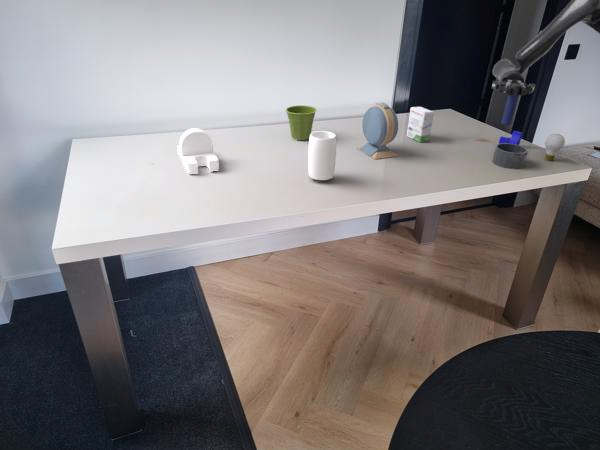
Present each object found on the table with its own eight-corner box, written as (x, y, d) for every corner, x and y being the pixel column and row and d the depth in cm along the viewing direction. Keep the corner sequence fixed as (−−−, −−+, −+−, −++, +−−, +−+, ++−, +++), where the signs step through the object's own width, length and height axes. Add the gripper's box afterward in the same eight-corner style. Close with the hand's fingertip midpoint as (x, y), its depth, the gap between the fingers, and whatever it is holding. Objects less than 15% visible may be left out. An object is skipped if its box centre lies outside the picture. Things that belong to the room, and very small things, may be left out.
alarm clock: (399, 157, 152) (406, 107, 143) (376, 160, 149) (382, 109, 140) (377, 144, 163) (382, 97, 155) (355, 147, 160) (359, 99, 151)
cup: (316, 171, 140) (318, 128, 132) (339, 177, 136) (342, 133, 129) (302, 179, 133) (303, 135, 126) (325, 186, 130) (328, 141, 122)
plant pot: (290, 132, 174) (290, 104, 168) (318, 135, 171) (320, 106, 166) (281, 141, 164) (281, 112, 159) (311, 144, 162) (312, 115, 156)
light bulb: (548, 157, 155) (556, 130, 150) (561, 163, 150) (571, 135, 145) (535, 159, 153) (544, 132, 148) (548, 165, 148) (558, 137, 143)
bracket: (177, 155, 149) (173, 123, 144) (206, 151, 153) (203, 120, 147) (188, 175, 134) (184, 140, 129) (220, 171, 138) (217, 137, 132)
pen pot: (522, 162, 150) (527, 145, 147) (523, 172, 142) (528, 155, 139) (492, 157, 154) (496, 141, 151) (491, 167, 146) (495, 150, 143)
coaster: (493, 140, 170) (494, 139, 169) (493, 147, 163) (493, 146, 163) (472, 138, 172) (472, 137, 172) (471, 144, 166) (471, 143, 166)
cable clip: (506, 144, 166) (510, 129, 163) (518, 147, 163) (522, 132, 160) (492, 151, 159) (496, 136, 156) (503, 155, 156) (508, 139, 153)
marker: (512, 123, 147) (522, 84, 140) (510, 125, 144) (521, 86, 138) (501, 121, 148) (511, 82, 142) (500, 124, 146) (510, 84, 139)
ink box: (429, 141, 168) (435, 111, 162) (419, 142, 166) (424, 112, 160) (415, 134, 174) (420, 105, 168) (405, 136, 172) (410, 107, 166)
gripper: (492, 69, 152) (495, 78, 138) (535, 72, 149) (543, 82, 134) (487, 90, 156) (490, 102, 142) (529, 94, 152) (536, 106, 138)
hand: (516, 92), depth 138 cm, fingers closed on marker, 3 cm apart
